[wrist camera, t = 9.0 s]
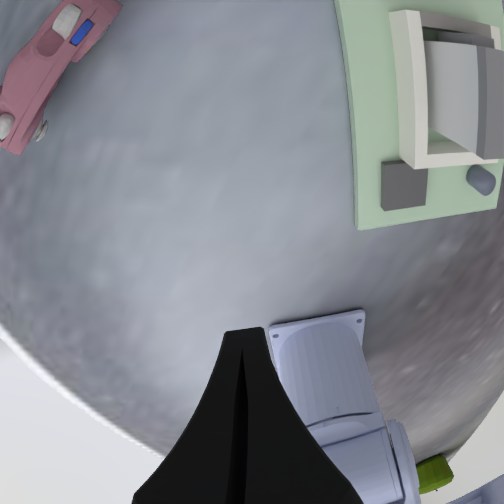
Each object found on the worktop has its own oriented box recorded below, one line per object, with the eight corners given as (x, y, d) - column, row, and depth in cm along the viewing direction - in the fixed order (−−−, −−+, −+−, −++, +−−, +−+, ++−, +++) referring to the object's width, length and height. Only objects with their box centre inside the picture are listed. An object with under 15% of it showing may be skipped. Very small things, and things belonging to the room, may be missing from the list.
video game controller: (43, 119, 16) (23, 186, 13) (-9, 93, 13) (-48, 155, 9) (137, -1, 13) (142, 17, 9) (81, -39, 9) (56, -38, 6)
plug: (464, 122, 15) (529, 157, 10) (420, 123, 15) (483, 159, 11) (461, 36, 12) (533, 47, 7) (414, 30, 12) (483, 33, 7)
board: (490, 203, 19) (510, 221, 17) (354, 224, 20) (368, 248, 18) (493, -3, 10) (520, -3, 8) (327, -31, 11) (343, -43, 9)
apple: (424, 456, 62) (434, 490, 53) (454, 447, 64) (464, 479, 54) (400, 471, 69) (408, 502, 60) (430, 463, 71) (438, 492, 61)
